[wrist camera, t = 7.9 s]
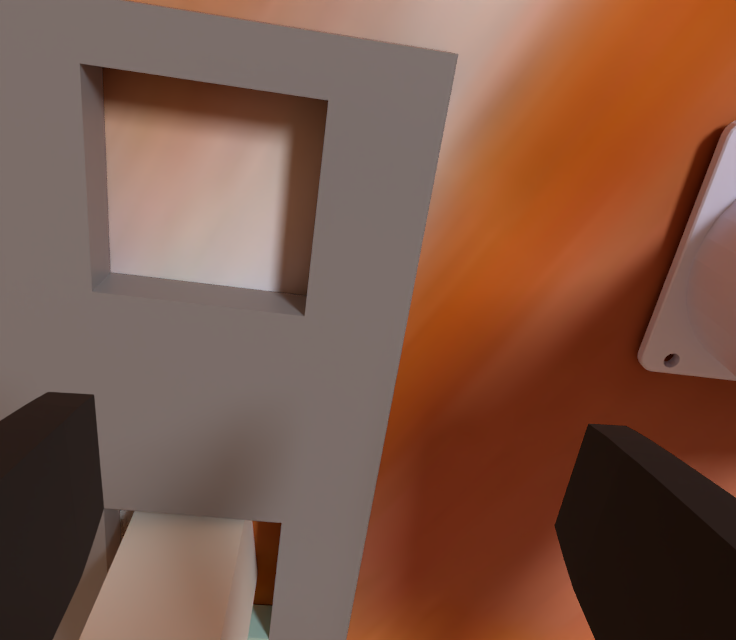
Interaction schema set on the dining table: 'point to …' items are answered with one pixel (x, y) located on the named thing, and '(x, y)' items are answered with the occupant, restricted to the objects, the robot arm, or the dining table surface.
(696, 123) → the dining table surface
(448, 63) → the grey board with holes
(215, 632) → the plug
